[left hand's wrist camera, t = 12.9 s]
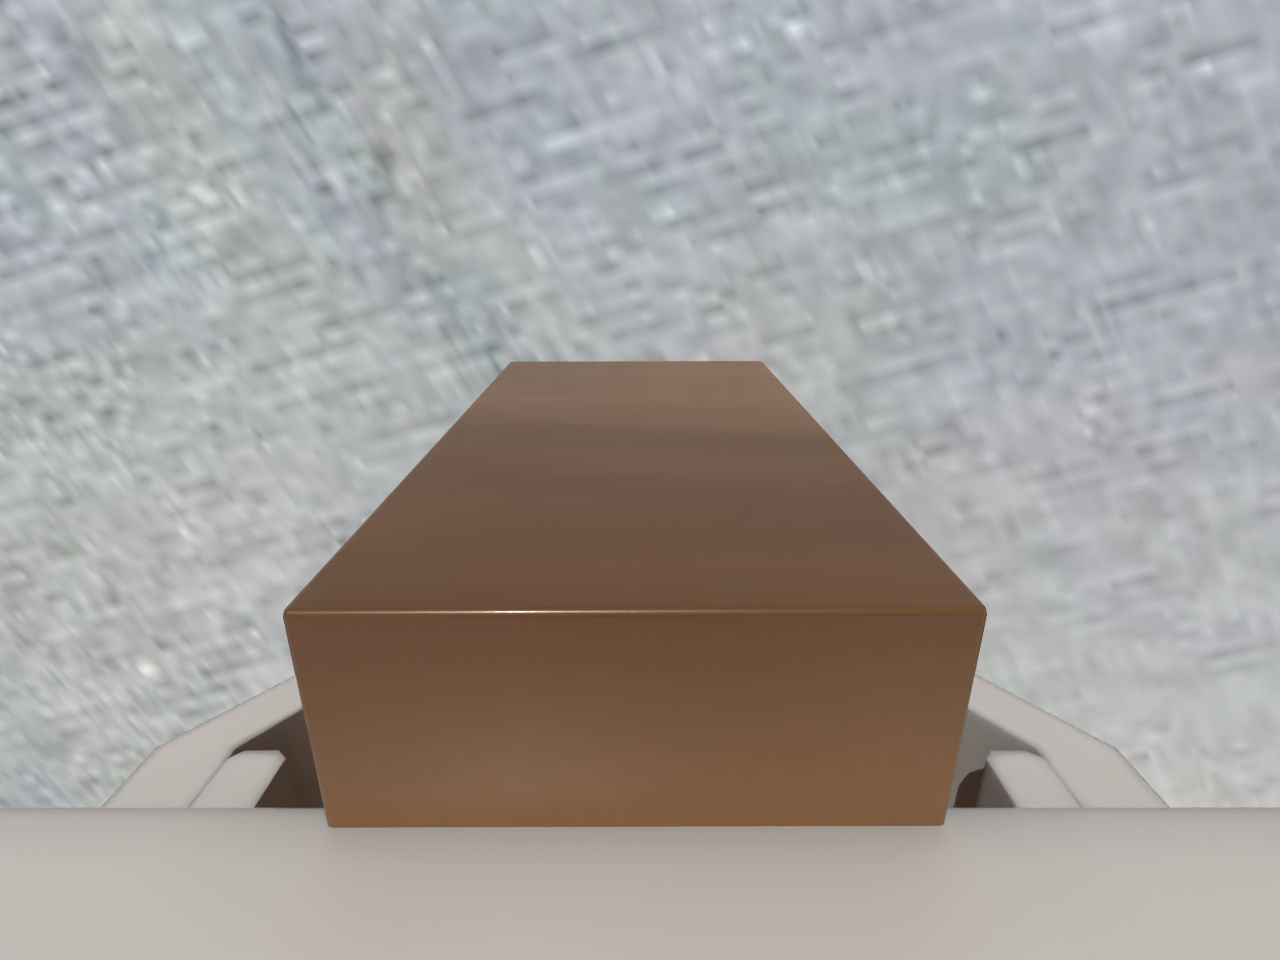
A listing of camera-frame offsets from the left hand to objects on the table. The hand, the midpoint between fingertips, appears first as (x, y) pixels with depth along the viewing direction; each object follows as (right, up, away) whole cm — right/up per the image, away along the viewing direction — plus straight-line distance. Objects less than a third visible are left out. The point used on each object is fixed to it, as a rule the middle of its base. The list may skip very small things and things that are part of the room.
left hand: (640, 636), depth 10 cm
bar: (0, -9, +7) cm, 11 cm away
